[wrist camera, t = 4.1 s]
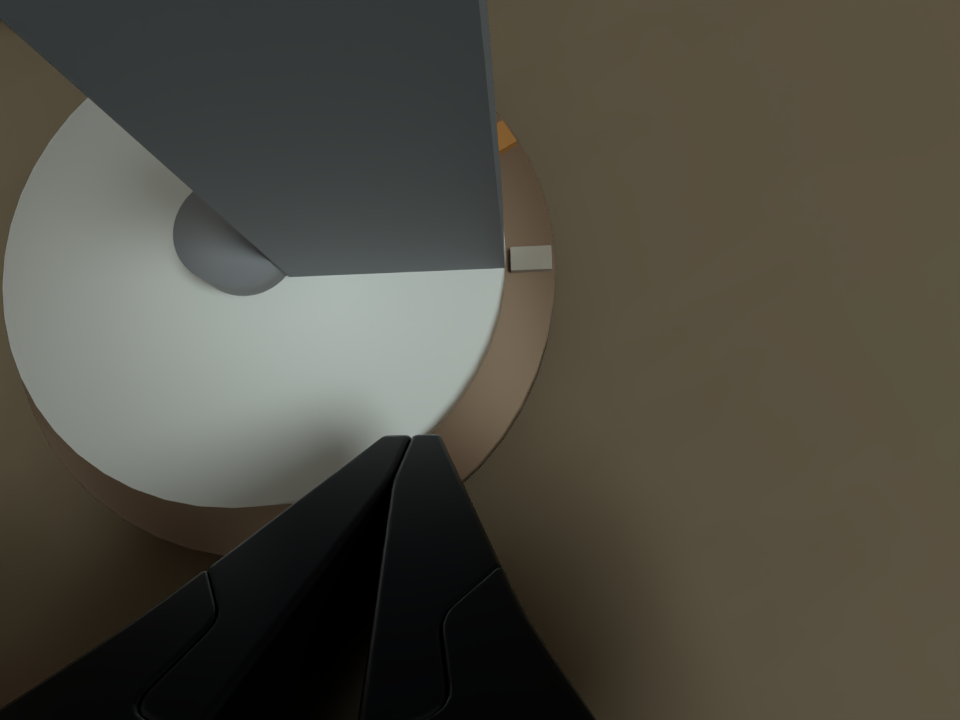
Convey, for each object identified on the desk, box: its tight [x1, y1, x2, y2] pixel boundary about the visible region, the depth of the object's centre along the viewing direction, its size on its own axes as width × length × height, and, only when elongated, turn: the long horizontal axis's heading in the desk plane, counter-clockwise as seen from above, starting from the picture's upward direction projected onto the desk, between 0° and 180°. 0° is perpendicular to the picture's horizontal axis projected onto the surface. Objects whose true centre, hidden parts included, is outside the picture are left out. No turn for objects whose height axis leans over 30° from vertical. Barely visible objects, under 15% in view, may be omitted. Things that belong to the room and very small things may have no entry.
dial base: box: [22, 112, 555, 556], centre depth 17 cm, size 14×14×2 cm
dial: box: [0, 0, 506, 508], centre depth 10 cm, size 12×12×12 cm
